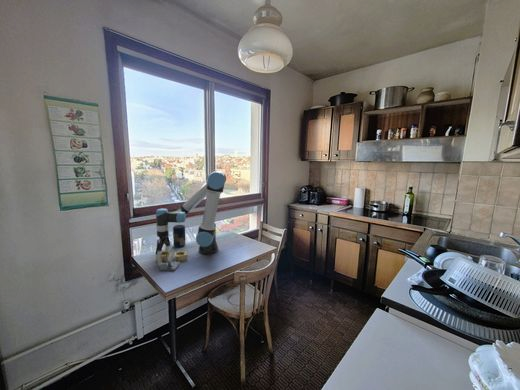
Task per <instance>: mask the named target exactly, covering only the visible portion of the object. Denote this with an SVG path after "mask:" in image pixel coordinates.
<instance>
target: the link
mask: <svg viewBox="0 0 520 390" xmlns="http://www.w3.org/2000/svg"><path fill="white" fill-rule="evenodd" d="M172 254H173V253H172V250H169V251H165V250H162V262H168V255H171V257H172V256H173V255H172ZM155 261H156V262H158V259H157V255H156V254H155Z"/></svg>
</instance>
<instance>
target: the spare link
mask: <svg viewBox="0 0 520 390" xmlns="http://www.w3.org/2000/svg"><path fill="white" fill-rule="evenodd" d="M173 253H174V257H173V258H174V262H184V261H188V253H187V251H186V250H181V251H175V252H173Z"/></svg>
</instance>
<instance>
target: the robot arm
mask: <svg viewBox="0 0 520 390" xmlns="http://www.w3.org/2000/svg"><path fill="white" fill-rule="evenodd" d="M226 181H227V176H226V173H224V172H223V171H222V170H214V171H212V172H211V173H210V174H208V176H207V179H206V182H204V184H203V185H202V186H201V187H200V188H199V189H198V190H197V191H196V192H194V193H193V194H192V195H191V197H189V198H188V199H187V200H186V201H185V202H184V203H183V204H182V205H181V206H179V207H178V208H177V210H175V211H168V208H157V209H156V214H155V217H156V218H155V220H156V226H155V227H156V236H157V237H158V238H159V239H157V242H156V248H155V256H156V255H157V251H158V250H161V251H163V247H164V251H170V246H171V240H170V237H169V223H179V224H181V223H182V224H183V223H185V222H186V219H187V215H188V214H190V212H191V211H193V209H195V208H196V207H197V206H198V205H199V204H200V203H201V202H202V201H203V200H204V199H206V201H205V206H204V210H203V215H202V222H201V223H200V224H199V225H198V230H197V234H196V237H195V241H196V243H197V245H199V247H198V253H199V254H201V255H212V254H213V255H214V254H216V253H217V252H219V246H218V244H217V243H218V242H217V240H216V239H217V234H216V233H217V225H216V224H217V223H216V222H215V221H216V217H217V216H216V215H217V211H218V206H219V202H220V198H221V194H222V193H223V192H224V189H225V184H226V183H227V182H226ZM164 245H165V246H164ZM157 259H158V258H157Z"/></svg>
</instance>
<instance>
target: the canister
mask: <svg viewBox="0 0 520 390" xmlns="http://www.w3.org/2000/svg"><path fill="white" fill-rule="evenodd" d="M172 233H173V234H172V235H173V238H172V239H173V241H172V243H173V246H174V247H177V248H180V247H184V246H185V245H186V226H185V225H184V224H175V225H174V226H173V227H172Z"/></svg>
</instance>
